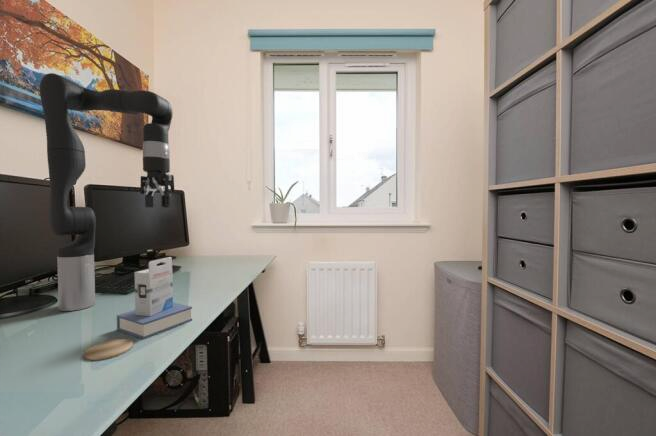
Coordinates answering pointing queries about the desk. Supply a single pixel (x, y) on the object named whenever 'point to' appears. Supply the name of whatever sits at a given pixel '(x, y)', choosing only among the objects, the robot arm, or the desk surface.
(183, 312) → the navy book
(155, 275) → the ink box
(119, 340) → the cork coaster
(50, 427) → the desk surface
